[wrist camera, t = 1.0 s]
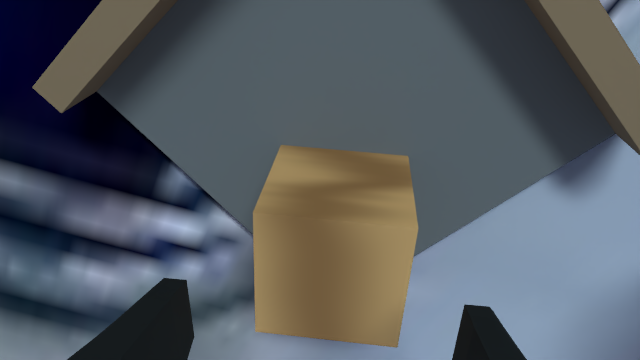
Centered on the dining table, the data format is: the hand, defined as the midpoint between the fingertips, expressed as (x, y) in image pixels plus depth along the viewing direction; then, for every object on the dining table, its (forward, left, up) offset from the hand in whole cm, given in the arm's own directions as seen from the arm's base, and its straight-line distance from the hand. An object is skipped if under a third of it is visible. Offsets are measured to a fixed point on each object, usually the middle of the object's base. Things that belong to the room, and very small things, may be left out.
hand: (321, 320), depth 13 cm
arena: (+3, -3, -8) cm, 9 cm away
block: (-1, +1, -8) cm, 8 cm away
